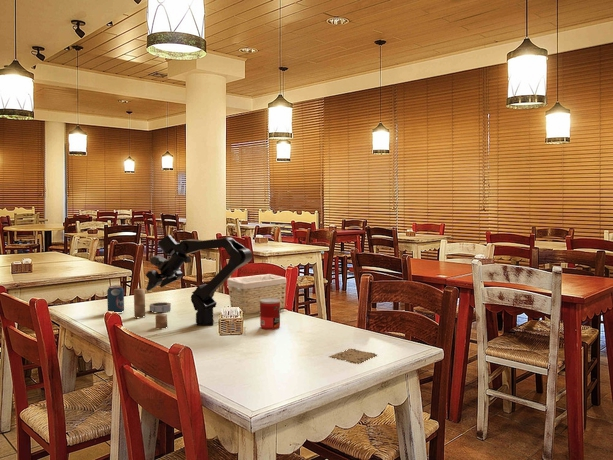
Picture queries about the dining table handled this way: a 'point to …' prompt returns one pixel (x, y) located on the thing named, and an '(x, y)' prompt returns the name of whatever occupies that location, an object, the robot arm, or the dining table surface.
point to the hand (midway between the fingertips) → (153, 288)
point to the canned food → (270, 313)
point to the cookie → (354, 355)
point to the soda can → (115, 298)
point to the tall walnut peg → (139, 302)
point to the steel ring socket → (160, 307)
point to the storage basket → (256, 291)
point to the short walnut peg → (161, 320)
